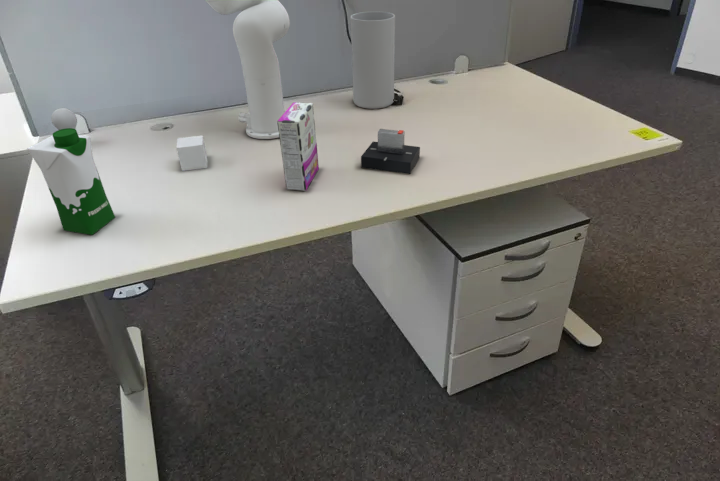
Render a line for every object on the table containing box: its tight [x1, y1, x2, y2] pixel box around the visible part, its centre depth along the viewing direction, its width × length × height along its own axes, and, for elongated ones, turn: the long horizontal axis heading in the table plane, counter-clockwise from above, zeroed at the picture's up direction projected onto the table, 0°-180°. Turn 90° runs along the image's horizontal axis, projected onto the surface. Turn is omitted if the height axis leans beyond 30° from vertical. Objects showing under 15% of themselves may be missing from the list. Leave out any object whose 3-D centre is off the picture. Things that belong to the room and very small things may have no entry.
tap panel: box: [360, 141, 421, 175], centre depth 125 cm, size 12×10×3 cm
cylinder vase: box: [350, 11, 396, 110], centre depth 154 cm, size 12×12×25 cm
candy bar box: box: [277, 101, 320, 192], centre depth 115 cm, size 11×5×16 cm, turn 168°
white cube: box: [175, 134, 208, 172], centre depth 126 cm, size 6×6×6 cm
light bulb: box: [50, 107, 78, 131], centre depth 137 cm, size 6×6×10 cm
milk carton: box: [26, 128, 116, 236], centre depth 101 cm, size 9×9×20 cm
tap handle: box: [377, 128, 406, 154], centre depth 123 cm, size 6×2×5 cm, turn 71°
